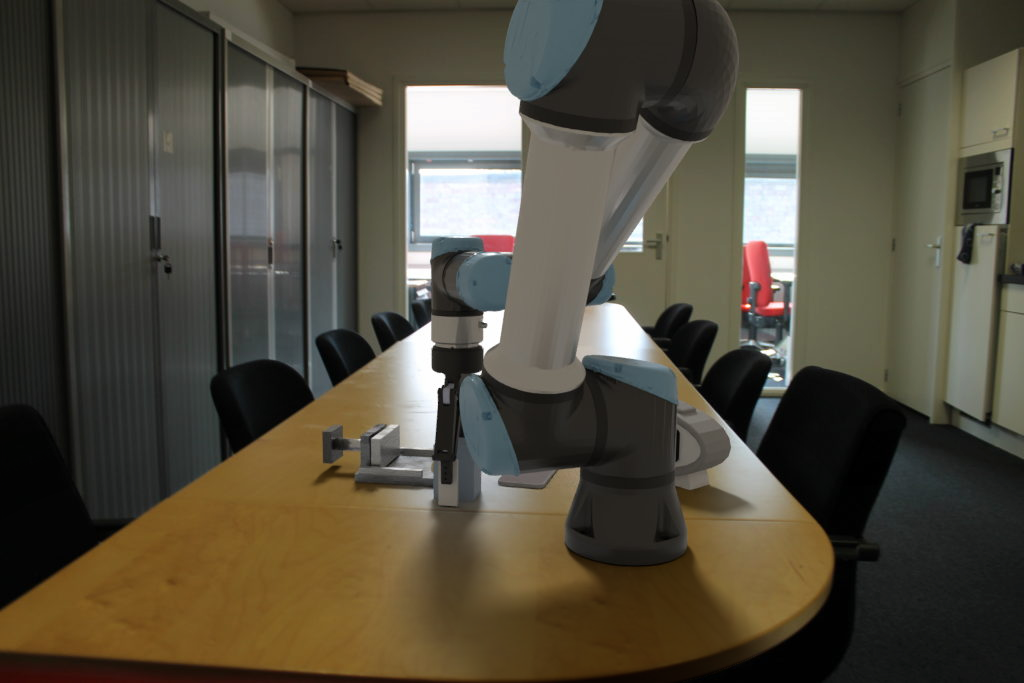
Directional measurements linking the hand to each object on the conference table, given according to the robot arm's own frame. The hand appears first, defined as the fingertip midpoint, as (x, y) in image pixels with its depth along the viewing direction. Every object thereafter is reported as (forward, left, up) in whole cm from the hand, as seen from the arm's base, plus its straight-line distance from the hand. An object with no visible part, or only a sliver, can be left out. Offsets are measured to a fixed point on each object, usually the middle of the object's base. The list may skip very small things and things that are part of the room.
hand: (457, 492), depth 123 cm
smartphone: (+13, -9, -1) cm, 16 cm away
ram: (+10, +19, +1) cm, 21 cm away
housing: (0, 0, 0) cm, 0 cm away
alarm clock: (+16, -29, 0) cm, 33 cm away
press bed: (+10, +9, 0) cm, 14 cm away
